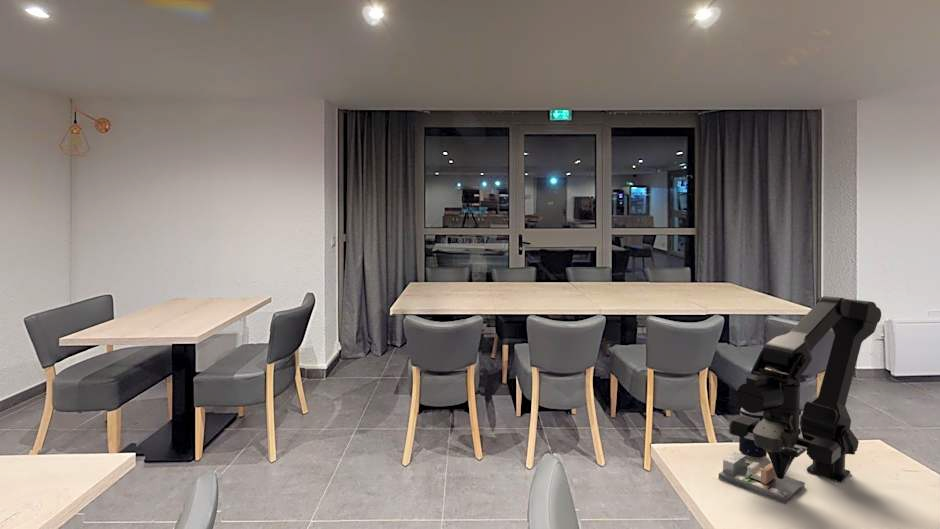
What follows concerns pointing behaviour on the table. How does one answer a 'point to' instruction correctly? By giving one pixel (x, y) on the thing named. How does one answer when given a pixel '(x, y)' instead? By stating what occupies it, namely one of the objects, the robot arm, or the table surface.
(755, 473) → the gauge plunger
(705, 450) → the table surface
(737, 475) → the frame
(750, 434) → the beverage can
